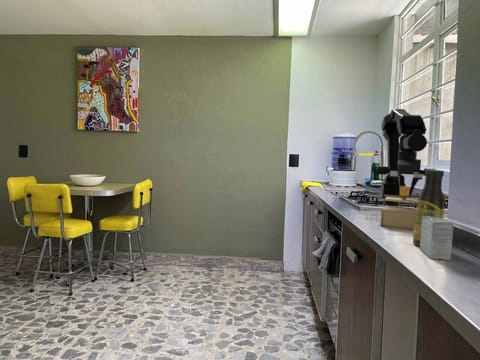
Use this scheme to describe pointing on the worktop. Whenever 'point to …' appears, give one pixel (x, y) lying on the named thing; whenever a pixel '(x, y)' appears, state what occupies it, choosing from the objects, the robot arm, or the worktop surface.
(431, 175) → the sauce bottle
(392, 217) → the carton
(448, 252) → the medicine box
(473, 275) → the worktop surface
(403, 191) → the pull drawer
